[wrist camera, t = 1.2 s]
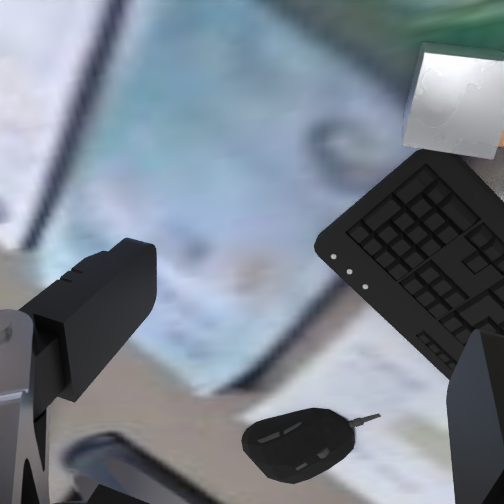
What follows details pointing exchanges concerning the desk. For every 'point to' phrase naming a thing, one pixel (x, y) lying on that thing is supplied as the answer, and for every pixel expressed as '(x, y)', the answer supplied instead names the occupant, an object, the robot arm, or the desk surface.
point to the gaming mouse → (300, 443)
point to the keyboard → (425, 254)
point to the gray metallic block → (456, 100)
